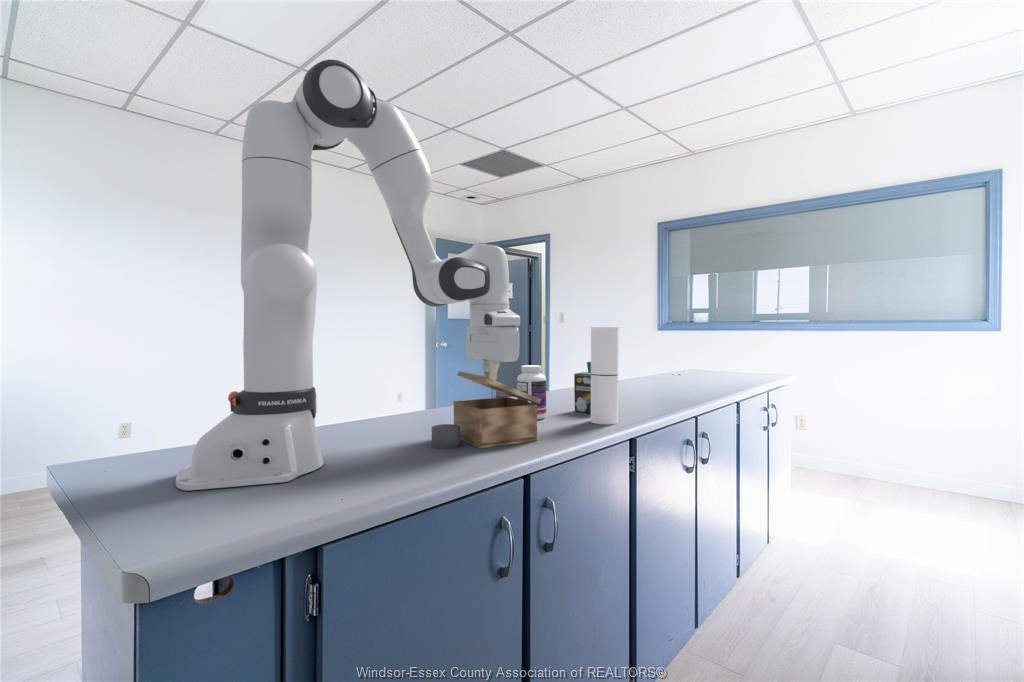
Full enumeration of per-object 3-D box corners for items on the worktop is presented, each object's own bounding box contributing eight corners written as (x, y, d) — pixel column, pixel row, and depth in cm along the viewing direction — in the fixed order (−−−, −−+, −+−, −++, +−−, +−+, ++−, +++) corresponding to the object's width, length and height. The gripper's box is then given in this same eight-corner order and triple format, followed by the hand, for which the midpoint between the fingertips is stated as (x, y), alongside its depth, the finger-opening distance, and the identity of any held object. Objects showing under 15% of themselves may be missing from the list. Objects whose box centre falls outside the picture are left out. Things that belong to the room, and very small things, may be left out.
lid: (484, 381, 102) (486, 376, 102) (457, 375, 114) (458, 371, 114) (539, 403, 108) (541, 399, 108) (508, 395, 121) (509, 391, 121)
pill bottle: (547, 415, 139) (547, 364, 139) (545, 421, 131) (545, 367, 131) (519, 414, 140) (519, 364, 140) (515, 420, 132) (515, 366, 132)
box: (479, 448, 102) (479, 409, 101) (453, 435, 114) (453, 400, 114) (537, 440, 108) (537, 404, 108) (507, 429, 121) (507, 396, 120)
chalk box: (617, 411, 146) (617, 361, 145) (597, 415, 140) (598, 363, 139) (592, 407, 153) (592, 360, 152) (573, 411, 147) (573, 361, 146)
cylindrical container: (585, 421, 130) (585, 327, 130) (601, 418, 135) (602, 327, 134) (607, 425, 125) (607, 327, 124) (623, 421, 130) (624, 327, 129)
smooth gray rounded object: (437, 450, 100) (437, 431, 100) (427, 444, 106) (427, 425, 106) (464, 447, 103) (464, 428, 103) (453, 441, 109) (453, 423, 108)
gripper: (458, 318, 117) (459, 376, 118) (497, 317, 99) (498, 385, 100) (482, 318, 120) (483, 374, 121) (524, 317, 103) (525, 383, 103)
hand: (490, 379), depth 110 cm, fingers closed, pressing on lid
